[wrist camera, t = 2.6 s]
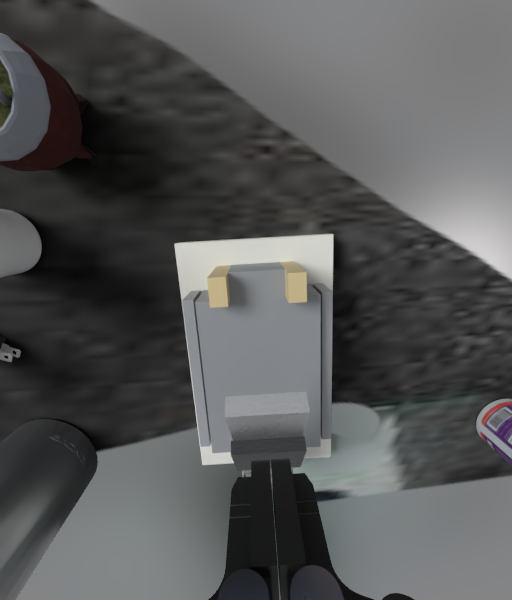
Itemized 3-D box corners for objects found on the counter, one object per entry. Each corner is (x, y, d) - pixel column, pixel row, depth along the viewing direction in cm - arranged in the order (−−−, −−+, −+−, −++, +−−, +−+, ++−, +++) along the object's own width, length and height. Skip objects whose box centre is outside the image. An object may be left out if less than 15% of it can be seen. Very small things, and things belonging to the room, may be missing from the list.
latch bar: (290, 469, 25) (293, 493, 24) (244, 472, 25) (245, 496, 24) (315, 383, 12) (323, 428, 10) (215, 389, 11) (213, 435, 10)
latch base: (327, 446, 30) (349, 511, 24) (204, 453, 30) (191, 521, 23) (328, 233, 25) (358, 237, 18) (178, 242, 25) (150, 249, 18)
